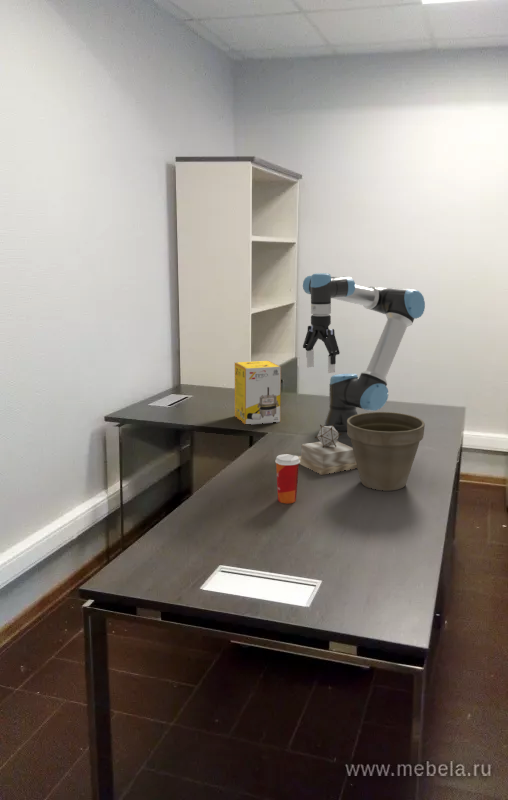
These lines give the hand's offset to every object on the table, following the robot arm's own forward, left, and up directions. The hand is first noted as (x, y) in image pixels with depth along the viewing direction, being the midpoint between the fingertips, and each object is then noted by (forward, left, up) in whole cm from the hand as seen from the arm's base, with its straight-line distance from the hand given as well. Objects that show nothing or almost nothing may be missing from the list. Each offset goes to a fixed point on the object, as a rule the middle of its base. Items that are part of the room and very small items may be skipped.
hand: (320, 369), depth 273 cm
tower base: (+11, +23, -30) cm, 39 cm away
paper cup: (+43, +47, -30) cm, 71 cm away
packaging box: (+2, -46, -30) cm, 55 cm away
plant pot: (+7, +49, -30) cm, 58 cm away
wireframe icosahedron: (+11, +22, -24) cm, 34 cm away
